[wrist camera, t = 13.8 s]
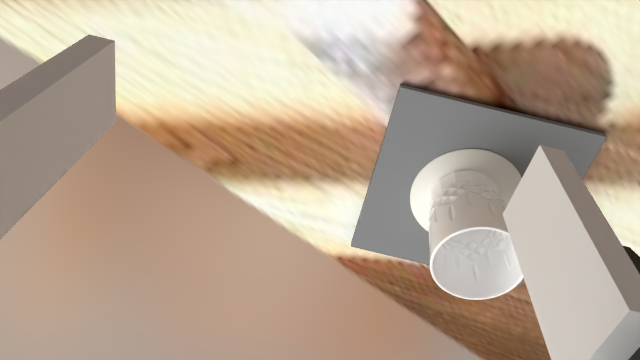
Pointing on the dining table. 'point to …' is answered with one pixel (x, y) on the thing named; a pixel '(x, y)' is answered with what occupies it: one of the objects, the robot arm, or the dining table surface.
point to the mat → (451, 162)
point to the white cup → (471, 238)
